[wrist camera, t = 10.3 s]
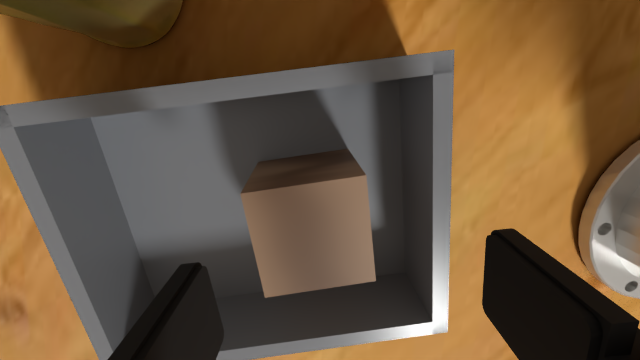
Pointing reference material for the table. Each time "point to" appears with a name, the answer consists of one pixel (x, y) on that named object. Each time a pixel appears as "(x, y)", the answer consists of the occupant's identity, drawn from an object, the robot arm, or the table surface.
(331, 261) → the walnut cube
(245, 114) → the tote
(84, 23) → the vase
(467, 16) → the table surface
